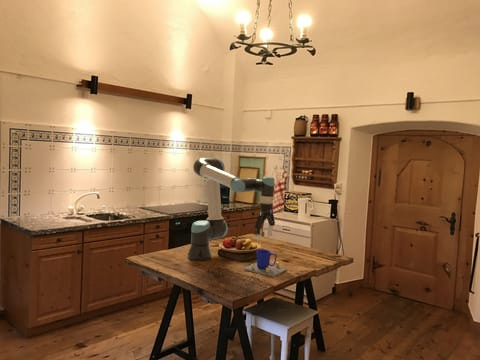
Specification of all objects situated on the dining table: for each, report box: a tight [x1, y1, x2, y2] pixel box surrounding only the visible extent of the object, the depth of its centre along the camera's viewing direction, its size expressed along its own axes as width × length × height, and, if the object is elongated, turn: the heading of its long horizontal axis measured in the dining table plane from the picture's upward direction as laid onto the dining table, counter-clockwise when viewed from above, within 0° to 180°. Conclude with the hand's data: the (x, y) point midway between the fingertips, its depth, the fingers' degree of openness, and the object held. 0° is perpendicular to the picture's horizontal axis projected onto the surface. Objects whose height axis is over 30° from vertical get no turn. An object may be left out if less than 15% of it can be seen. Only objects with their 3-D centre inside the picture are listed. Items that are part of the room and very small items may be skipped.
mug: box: [256, 249, 278, 269], centre depth 241 cm, size 8×12×10 cm
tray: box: [243, 261, 287, 278], centre depth 241 cm, size 20×16×4 cm
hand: (264, 237), depth 242 cm, fingers open, 13 cm apart
